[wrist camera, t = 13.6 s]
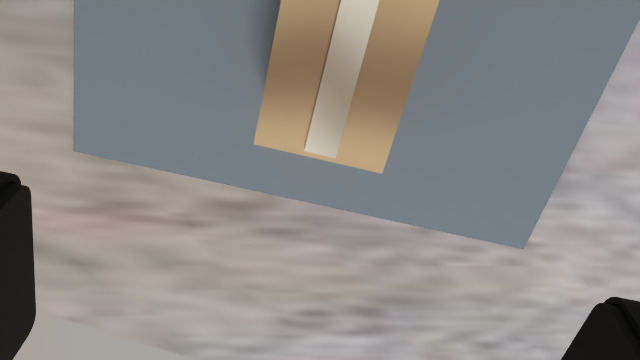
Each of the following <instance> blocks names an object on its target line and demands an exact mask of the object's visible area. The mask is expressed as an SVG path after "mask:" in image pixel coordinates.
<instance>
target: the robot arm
mask: <svg viewBox="0 0 640 360" xmlns="http://www.w3.org/2000/svg"><path fill="white" fill-rule="evenodd" d="M35 315H36V303H35V279H34V255H33V231H32V207H31V192H30V189H29V187H27V186H23V185H21V181H20V179H19V177H18V176H17V175H15V174H11V173H6V172H1V171H0V360H13V358H14V357H15V355H16V354H17V352H18V350H19V349H20V348H21V346H22V344H23V343H24V341H25V340H26V338H27V337H28V335H29V333H30V331H31V329H32V327H33V324H34V321H35ZM561 360H640V302H638V301H634V300H629V299H624V298H619V297H611V298H609V299H607V300H606V301H605V302H604V303H599V304H597V305H596V306H595V307H594V308H593V310H592V311H591V313H590V314H589V316H588V317H587V319H586V321H585V322H584V324H583V325H582V327H581V329H580V330H579V332H578V333H577V335H576V337H575V338H574V340H573V341H572V343H571V345H570V346H569V348H568V349H567V351H566V353H565V354H564V356H563V357H562V359H561Z"/></svg>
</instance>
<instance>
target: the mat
mask: <svg viewBox="0 0 640 360" xmlns="http://www.w3.org/2000/svg"><path fill="white" fill-rule="evenodd" d="M280 4H281V0H74V151H75V152H80V153H84V154H89V155H94V156H98V157H103V158H107V159H112V160H116V161H121V162H126V163H130V164H135V165H139V166H144V167H149V168H153V169H158V170H162V171H167V172H171V173H176V174H181V175H185V176H190V177H194V178H199V179H204V180H208V181H213V182H217V183H222V184H226V185H231V186H236V187H240V188H245V189H249V190H254V191H259V192H263V193H268V194H272V195H277V196H281V197H286V198H291V199H295V200H300V201H304V202H309V203H314V204H318V205H323V206H327V207H332V208H336V209H341V210H346V211H350V212H355V213H359V214H364V215H369V216H373V217H378V218H382V219H387V220H391V221H396V222H401V223H405V224H410V225H414V226H419V227H424V228H428V229H433V230H437V231H442V232H446V233H451V234H456V235H460V236H465V237H469V238H474V239H479V240H483V241H488V242H492V243H497V244H501V245H506V246H511V247H515V248H520V249H524V247H525V245H526V243H527V241H528V239H529V237H530V235H531V233H532V231H533V229H534V227H535V225H536V223H537V221H538V219H539V217H540V215H541V213H542V211H543V209H544V207H545V205H546V203H547V201H548V199H549V197H550V195H551V193H552V192H553V190H554V188H555V186H556V184H557V182H558V180H559V178H560V176H561V174H562V172H563V170H564V168H565V166H566V164H567V162H568V160H569V158H570V156H571V154H572V152H573V150H574V148H575V146H576V144H577V142H578V140H579V138H580V136H581V134H582V132H583V130H584V128H585V126H586V124H587V122H588V120H589V118H590V116H591V114H592V112H593V110H594V108H595V106H596V104H597V103H598V101H599V99H600V97H601V95H602V93H603V91H604V89H605V87H606V85H607V83H608V81H609V79H610V77H611V75H612V73H613V71H614V69H615V67H616V65H617V63H618V61H619V59H620V57H621V55H622V53H623V51H624V49H625V47H626V45H627V43H628V41H629V39H630V37H631V35H632V33H633V31H634V29H635V27H636V25H637V23H638V21H639V19H640V0H440V1H439V4H438V7H437V10H436V13H435V16H434V19H433V22H432V25H431V28H430V31H429V34H428V37H427V40H426V43H425V46H424V49H423V52H422V55H421V58H420V61H419V64H418V67H417V70H416V73H415V76H414V79H413V82H412V85H411V88H410V91H409V94H408V97H407V100H406V103H405V106H404V109H403V112H402V115H401V118H400V121H399V125H398V128H397V131H396V134H395V137H394V140H393V143H392V146H391V149H390V152H389V155H388V158H387V161H386V164H385V167H384V170H383V173H382V174H381V173H376V172H372V171H368V170H363V169H359V168H355V167H350V166H346V165H342V164H337V163H333V162H329V161H324V160H320V159H316V158H311V157H307V156H303V155H298V154H294V153H290V152H285V151H281V150H277V149H272V148H268V147H264V146H259V145H255V144H254V139H255V134H256V128H257V123H258V118H259V113H260V108H261V102H262V97H263V92H264V87H265V82H266V76H267V71H268V66H269V61H270V56H271V50H272V45H273V40H274V35H275V30H276V24H277V19H278V14H279V9H280Z"/></svg>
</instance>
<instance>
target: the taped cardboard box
mask: <svg viewBox="0 0 640 360" xmlns="http://www.w3.org/2000/svg"><path fill="white" fill-rule="evenodd" d="M439 1H440V0H281V4H280V9H279V14H278V19H277V24H276V30H275V35H274V40H273V45H272V50H271V56H270V61H269V66H268V71H267V76H266V82H265V87H264V92H263V97H262V102H261V108H260V113H259V118H258V123H257V128H256V134H255V139H254V144H255V145H259V146H264V147H268V148H272V149H277V150H281V151H285V152H290V153H294V154H298V155H303V156H307V157H311V158H316V159H320V160H324V161H329V162H333V163H337V164H342V165H346V166H350V167H355V168H359V169H363V170H368V171H372V172H376V173H381V174H382V173H383V170H384V167H385V164H386V161H387V158H388V155H389V152H390V149H391V146H392V143H393V140H394V137H395V134H396V131H397V128H398V125H399V121H400V118H401V115H402V112H403V109H404V106H405V103H406V100H407V97H408V94H409V91H410V88H411V85H412V82H413V79H414V76H415V73H416V70H417V67H418V64H419V61H420V58H421V55H422V52H423V49H424V46H425V43H426V40H427V37H428V34H429V31H430V28H431V25H432V22H433V19H434V16H435V13H436V10H437V7H438V4H439Z"/></svg>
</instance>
